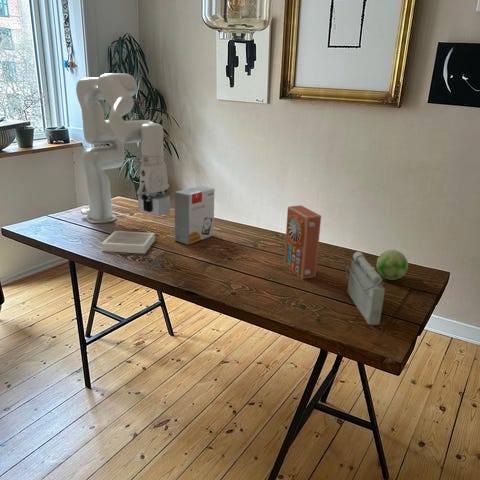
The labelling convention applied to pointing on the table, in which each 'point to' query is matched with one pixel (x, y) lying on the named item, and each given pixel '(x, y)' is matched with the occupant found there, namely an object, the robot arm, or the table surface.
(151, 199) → the block
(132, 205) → the table surface
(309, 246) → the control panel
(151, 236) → the white shallow square tray
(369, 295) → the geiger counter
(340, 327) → the table surface
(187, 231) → the hard drive box
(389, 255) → the decorative ball
